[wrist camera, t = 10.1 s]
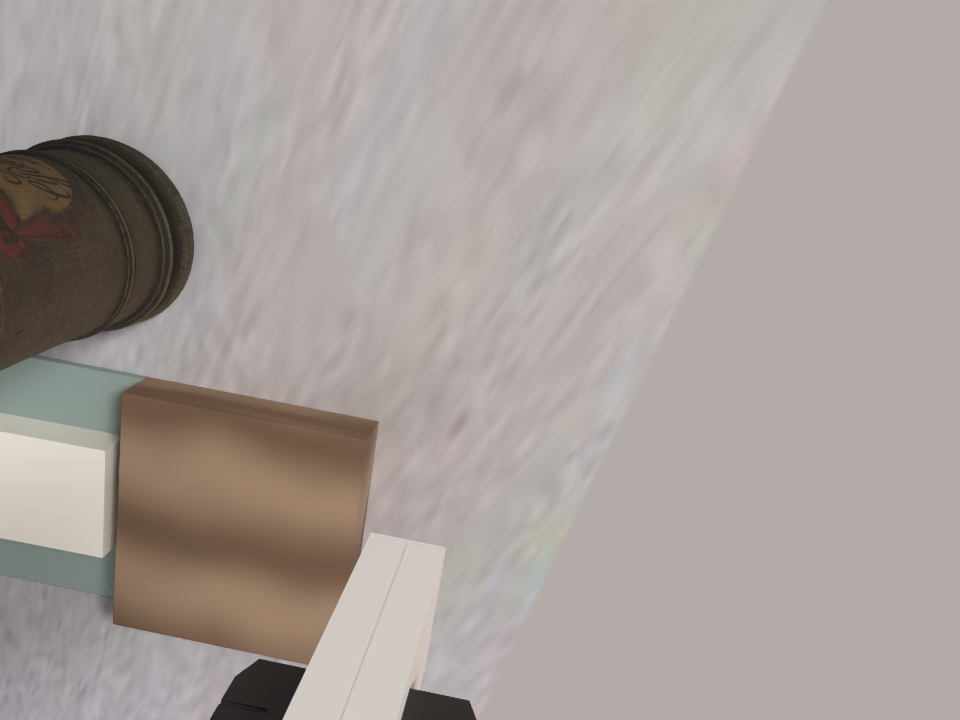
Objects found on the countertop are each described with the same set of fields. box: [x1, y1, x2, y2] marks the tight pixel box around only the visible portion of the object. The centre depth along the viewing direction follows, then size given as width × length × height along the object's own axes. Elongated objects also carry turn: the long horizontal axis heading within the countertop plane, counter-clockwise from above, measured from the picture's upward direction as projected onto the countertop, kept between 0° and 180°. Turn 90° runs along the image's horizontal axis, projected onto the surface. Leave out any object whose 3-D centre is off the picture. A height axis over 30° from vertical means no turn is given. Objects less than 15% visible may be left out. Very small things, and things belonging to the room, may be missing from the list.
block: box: [0, 413, 121, 558], centre depth 44 cm, size 6×8×2 cm
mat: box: [0, 355, 146, 598], centre depth 45 cm, size 13×11×1 cm
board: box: [113, 377, 379, 665], centre depth 43 cm, size 13×12×2 cm
